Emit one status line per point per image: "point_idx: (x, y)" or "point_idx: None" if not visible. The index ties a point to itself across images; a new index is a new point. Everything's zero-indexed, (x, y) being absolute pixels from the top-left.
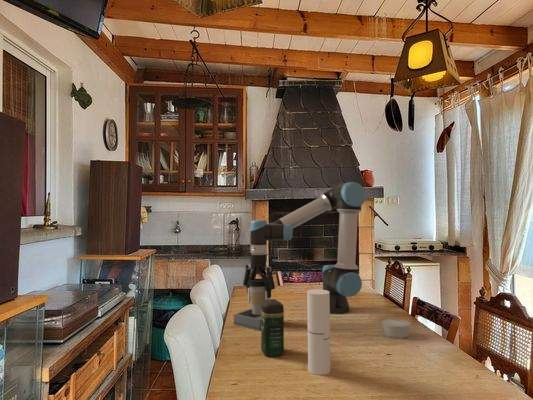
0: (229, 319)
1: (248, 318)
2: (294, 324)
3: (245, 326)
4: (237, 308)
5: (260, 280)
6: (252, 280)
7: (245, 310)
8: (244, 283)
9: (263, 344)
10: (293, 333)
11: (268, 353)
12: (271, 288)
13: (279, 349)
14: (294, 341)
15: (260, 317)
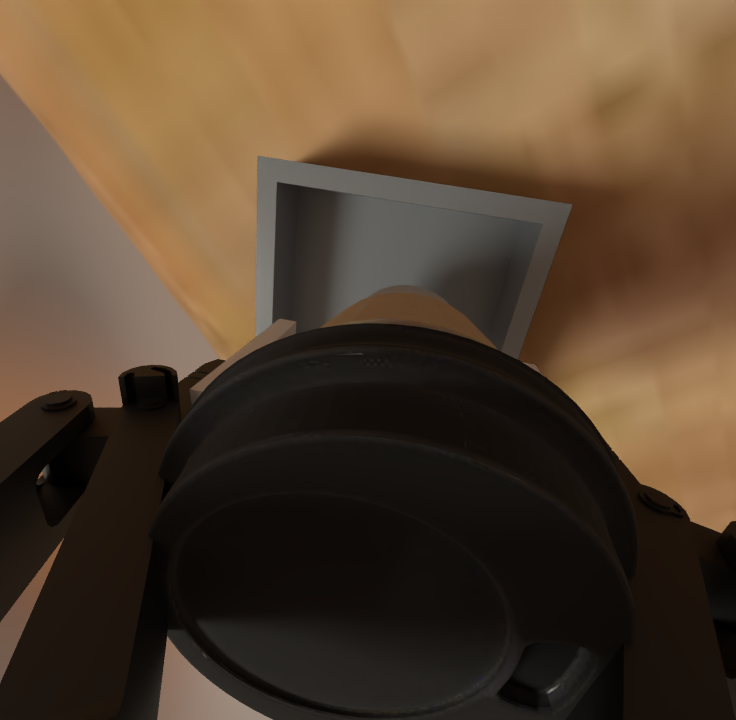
0: (193, 316)
1: None
2: (680, 205)
3: None
4: (7, 4)
5: (414, 615)
6: (238, 648)
7: (259, 301)
8: (76, 497)
9: None
10: (699, 389)
11: None
12: (727, 624)
13: None
14: (722, 491)
15: (368, 222)
